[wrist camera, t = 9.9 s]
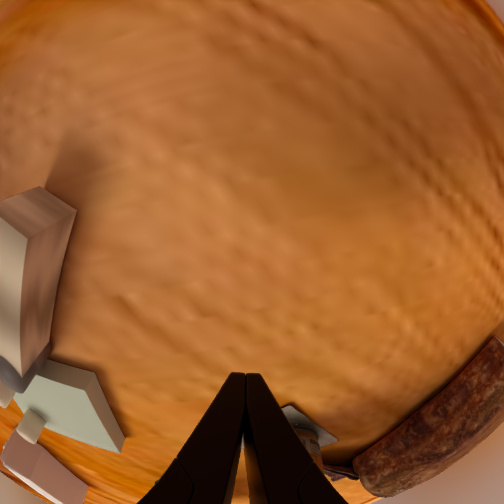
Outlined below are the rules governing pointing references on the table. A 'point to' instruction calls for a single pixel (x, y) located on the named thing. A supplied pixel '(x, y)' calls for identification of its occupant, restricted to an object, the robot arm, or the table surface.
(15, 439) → the milk carton
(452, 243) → the table surface
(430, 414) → the cured meat
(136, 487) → the table surface
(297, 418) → the condiment
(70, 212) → the leg
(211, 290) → the table surface
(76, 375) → the stool seat
